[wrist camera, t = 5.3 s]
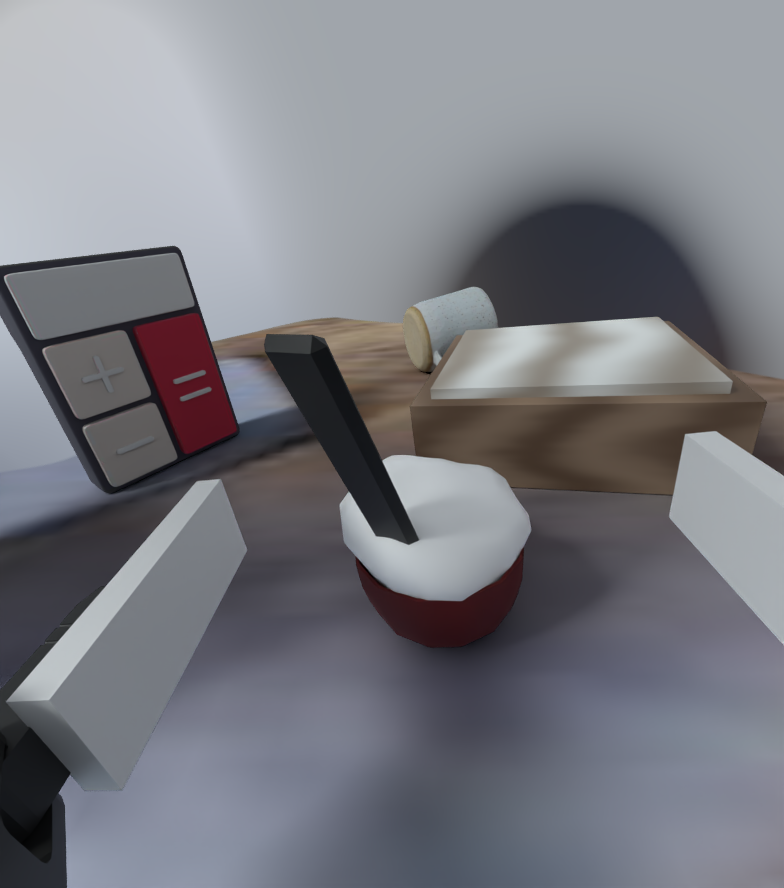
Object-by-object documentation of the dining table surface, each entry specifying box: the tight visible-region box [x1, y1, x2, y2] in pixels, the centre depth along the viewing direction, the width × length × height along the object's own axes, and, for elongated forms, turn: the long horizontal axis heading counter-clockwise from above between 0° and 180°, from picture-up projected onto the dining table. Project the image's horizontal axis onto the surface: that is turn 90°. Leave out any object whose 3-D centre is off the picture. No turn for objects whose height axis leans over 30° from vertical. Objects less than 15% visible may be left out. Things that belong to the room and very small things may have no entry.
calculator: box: [0, 246, 239, 493], centre depth 30 cm, size 11×4×15 cm, turn 141°
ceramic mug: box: [403, 287, 498, 372], centre depth 43 cm, size 11×8×8 cm
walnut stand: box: [410, 317, 767, 495], centre depth 28 cm, size 16×16×6 cm
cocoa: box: [264, 334, 531, 648], centre depth 14 cm, size 10×6×12 cm, turn 127°
